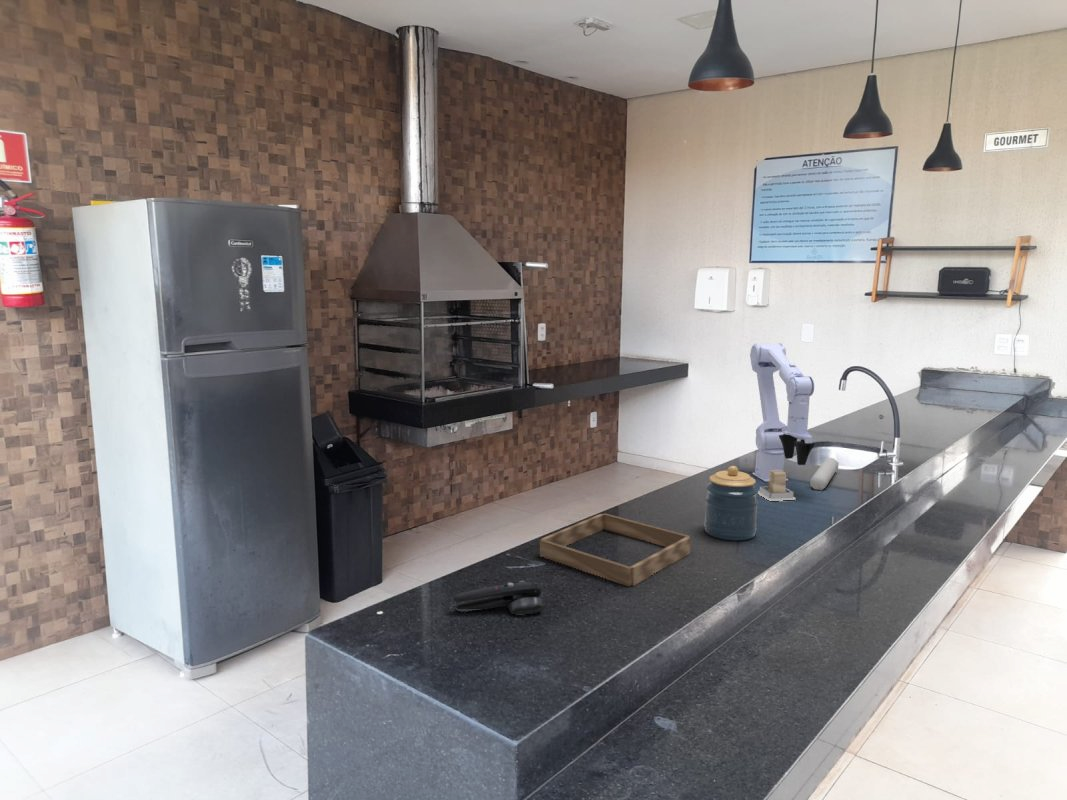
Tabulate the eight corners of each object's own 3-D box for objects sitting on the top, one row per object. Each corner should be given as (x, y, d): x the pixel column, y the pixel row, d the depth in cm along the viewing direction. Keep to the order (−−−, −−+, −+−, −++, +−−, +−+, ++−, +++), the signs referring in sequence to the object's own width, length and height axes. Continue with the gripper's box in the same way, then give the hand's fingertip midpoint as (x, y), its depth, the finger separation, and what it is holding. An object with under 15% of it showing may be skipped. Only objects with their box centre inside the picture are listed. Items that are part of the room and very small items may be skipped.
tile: (757, 493, 222) (757, 491, 221) (782, 492, 223) (782, 490, 223) (769, 501, 214) (769, 499, 214) (795, 500, 215) (795, 498, 215)
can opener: (541, 601, 150) (541, 575, 149) (544, 616, 143) (544, 589, 142) (454, 604, 149) (453, 577, 148) (453, 620, 142) (452, 592, 141)
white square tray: (758, 491, 221) (758, 486, 221) (781, 490, 222) (782, 485, 222) (770, 499, 214) (770, 494, 214) (794, 497, 215) (794, 492, 215)
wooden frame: (602, 527, 192) (603, 512, 191) (691, 552, 175) (692, 536, 175) (538, 556, 173) (538, 539, 172) (631, 587, 156) (631, 569, 155)
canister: (700, 537, 185) (703, 470, 182) (707, 521, 197) (710, 457, 194) (754, 544, 181) (758, 475, 178) (757, 527, 193) (761, 462, 190)
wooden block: (768, 493, 220) (769, 470, 218) (779, 492, 220) (780, 469, 219) (773, 496, 216) (775, 473, 215) (784, 496, 217) (786, 473, 215)
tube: (829, 480, 223) (841, 461, 244) (812, 472, 225) (825, 454, 246) (822, 495, 224) (834, 475, 246) (805, 488, 226) (819, 468, 248)
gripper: (773, 412, 225) (771, 455, 227) (797, 422, 210) (794, 468, 213) (795, 412, 226) (792, 455, 228) (820, 421, 212) (817, 467, 214)
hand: (794, 461), depth 221 cm, fingers open, 7 cm apart
